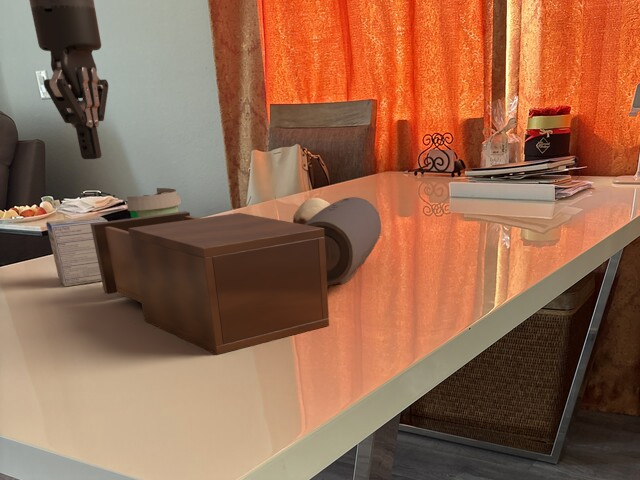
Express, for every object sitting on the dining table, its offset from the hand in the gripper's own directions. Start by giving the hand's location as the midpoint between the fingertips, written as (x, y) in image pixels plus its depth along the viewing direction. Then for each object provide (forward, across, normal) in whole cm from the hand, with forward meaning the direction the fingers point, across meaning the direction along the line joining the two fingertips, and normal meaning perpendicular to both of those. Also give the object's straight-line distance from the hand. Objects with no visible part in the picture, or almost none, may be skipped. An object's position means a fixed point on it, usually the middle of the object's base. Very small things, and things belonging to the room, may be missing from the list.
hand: (91, 158), depth 96 cm
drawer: (+16, +8, +12) cm, 21 cm away
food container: (+17, -22, -1) cm, 28 cm away
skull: (+17, -31, +24) cm, 43 cm away
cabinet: (+17, +19, +24) cm, 35 cm away
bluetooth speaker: (+17, -6, +33) cm, 37 cm away
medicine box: (+17, -2, -5) cm, 18 cm away
